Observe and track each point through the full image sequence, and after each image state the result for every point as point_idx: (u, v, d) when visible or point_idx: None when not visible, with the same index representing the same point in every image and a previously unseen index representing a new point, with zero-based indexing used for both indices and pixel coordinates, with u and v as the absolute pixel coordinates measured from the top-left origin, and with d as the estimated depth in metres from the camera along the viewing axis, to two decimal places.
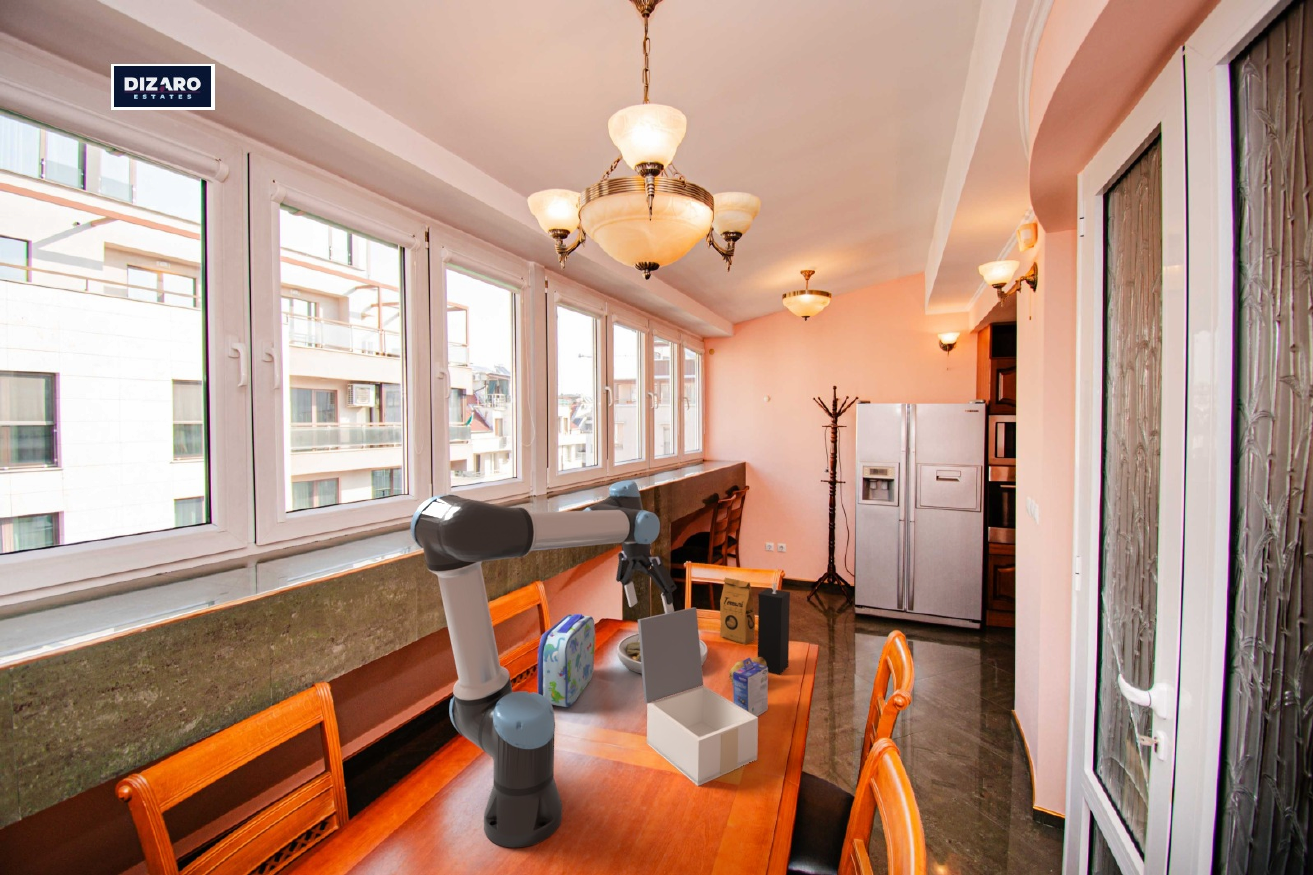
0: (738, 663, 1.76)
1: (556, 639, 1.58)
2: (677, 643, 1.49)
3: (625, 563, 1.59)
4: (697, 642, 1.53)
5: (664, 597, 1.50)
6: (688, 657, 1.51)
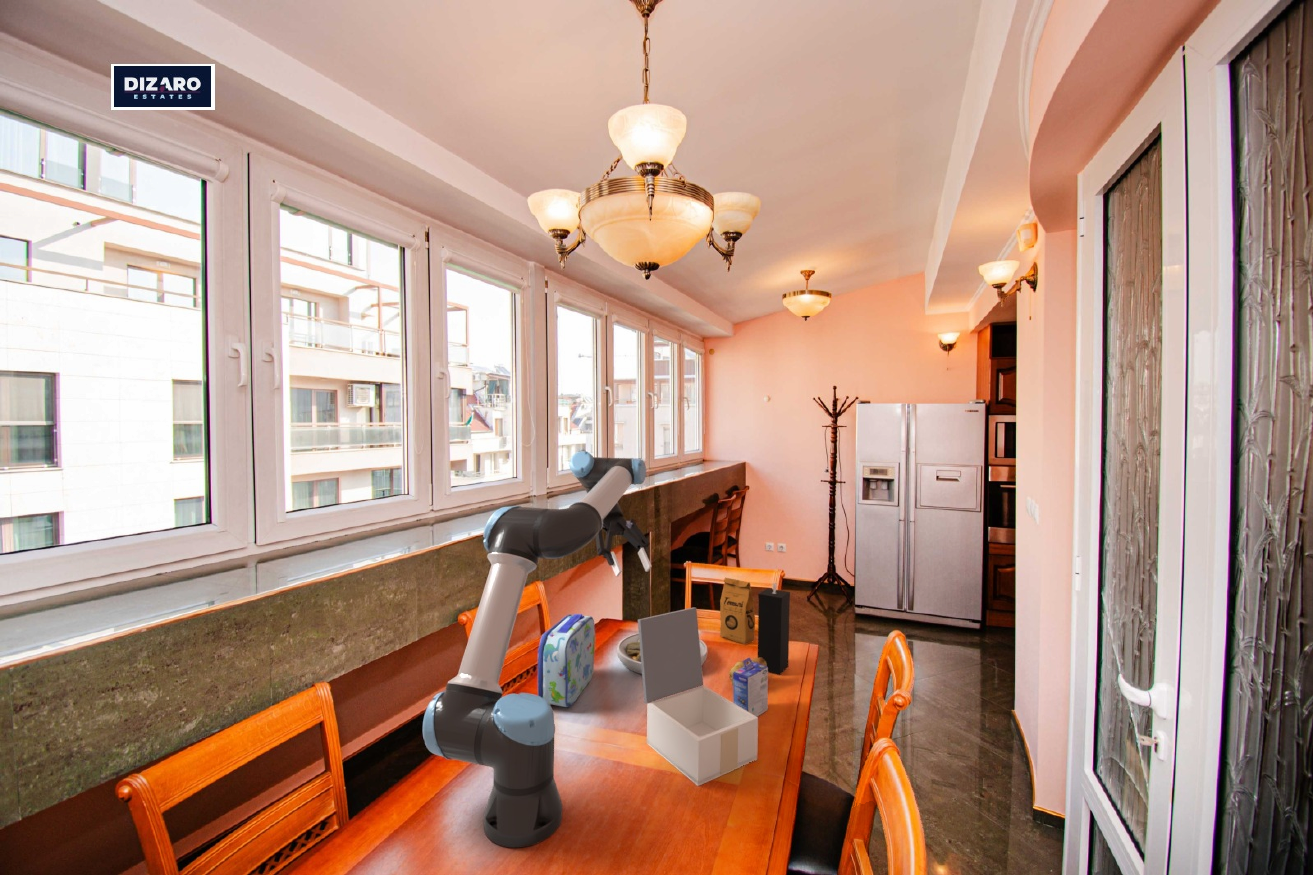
0: (738, 663, 1.76)
1: (556, 639, 1.58)
2: (677, 643, 1.49)
3: None
4: (697, 642, 1.53)
5: None
6: (688, 657, 1.51)
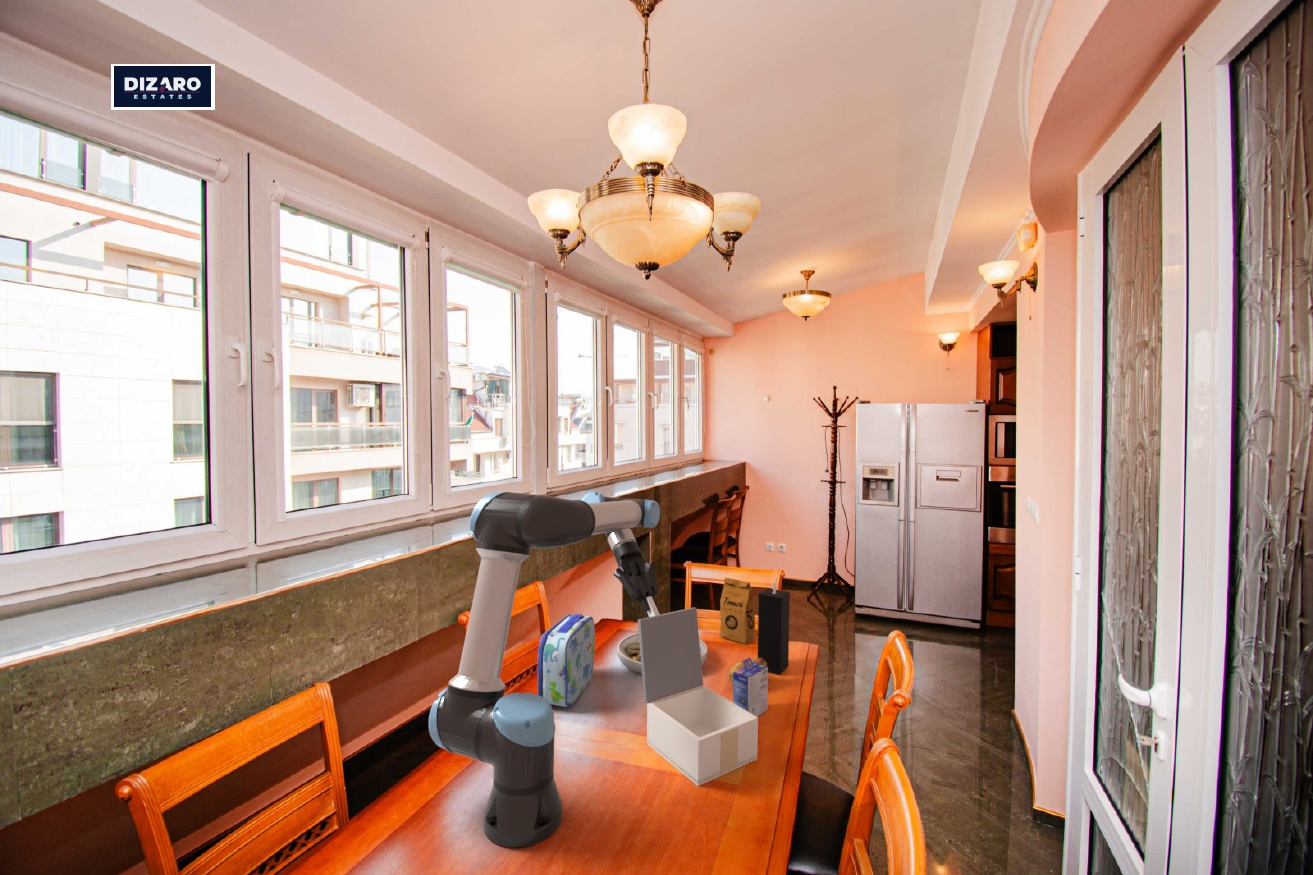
0: (738, 664, 1.76)
1: (556, 639, 1.58)
2: (677, 643, 1.49)
3: None
4: (697, 642, 1.53)
5: None
6: (688, 657, 1.51)
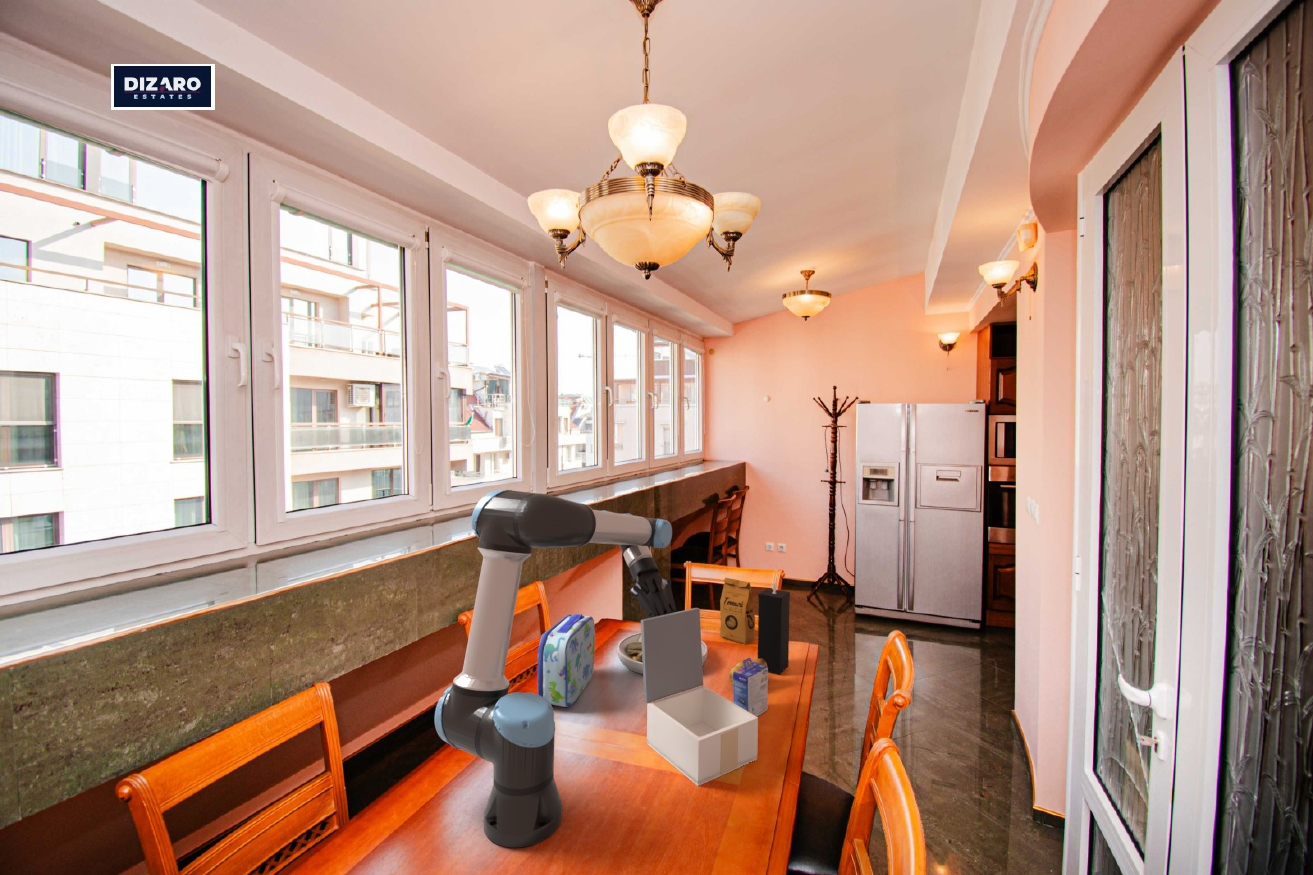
0: (738, 664, 1.75)
1: (556, 639, 1.58)
2: (679, 644, 1.49)
3: None
4: (699, 642, 1.52)
5: None
6: (689, 657, 1.50)
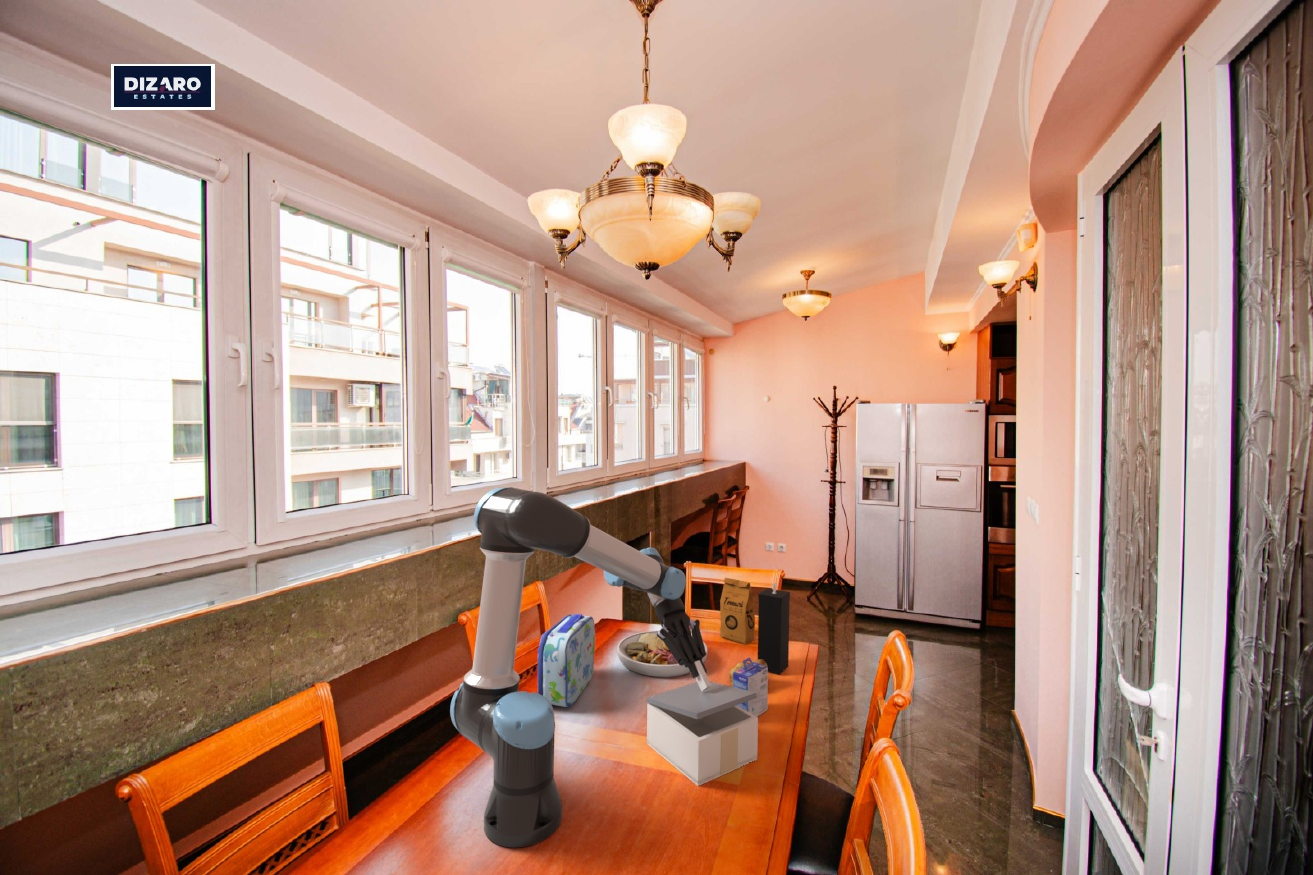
0: (739, 665, 1.75)
1: (556, 639, 1.58)
2: None
3: None
4: None
5: None
6: None
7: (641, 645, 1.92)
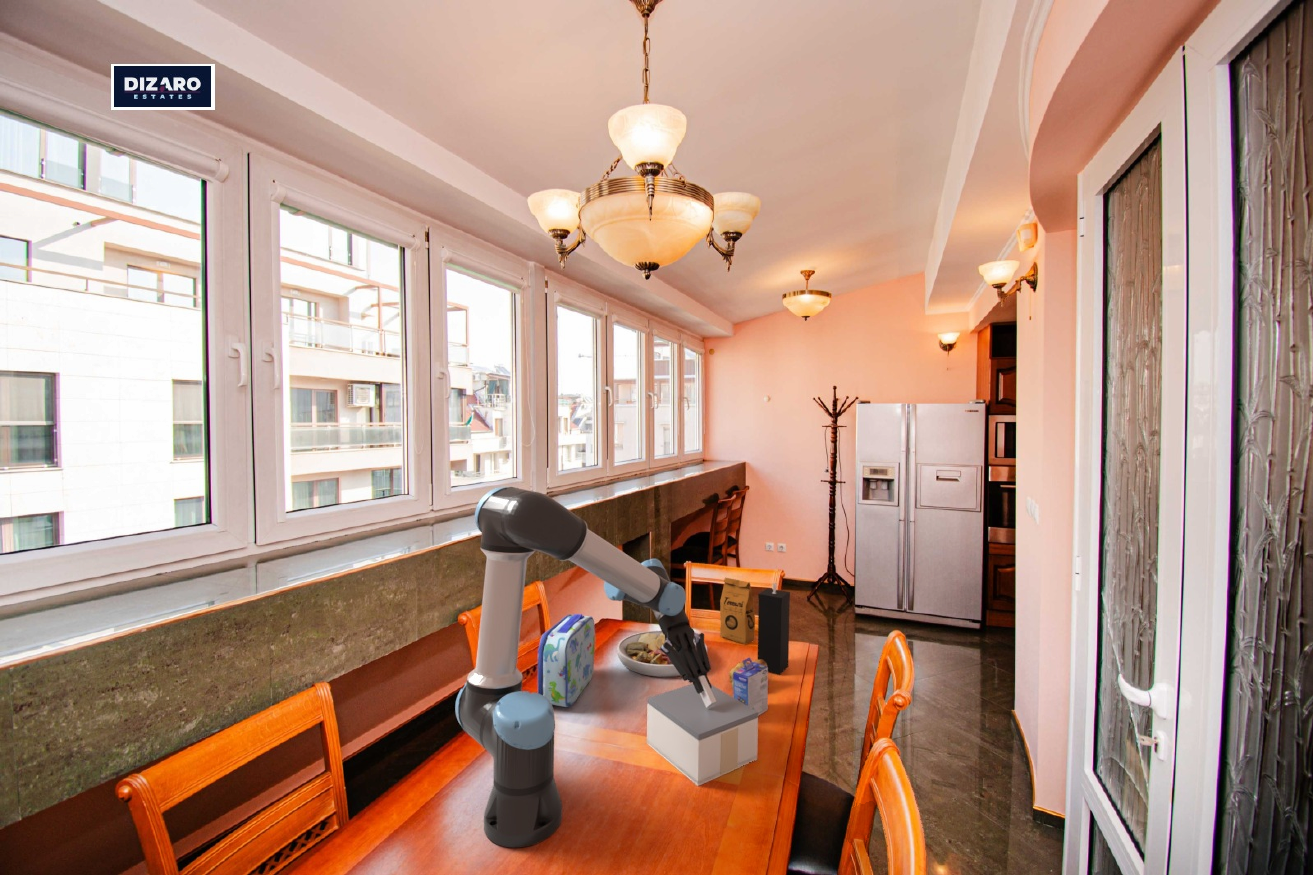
0: (739, 665, 1.75)
1: (556, 639, 1.58)
2: None
3: None
4: None
5: None
6: None
7: (641, 645, 1.92)
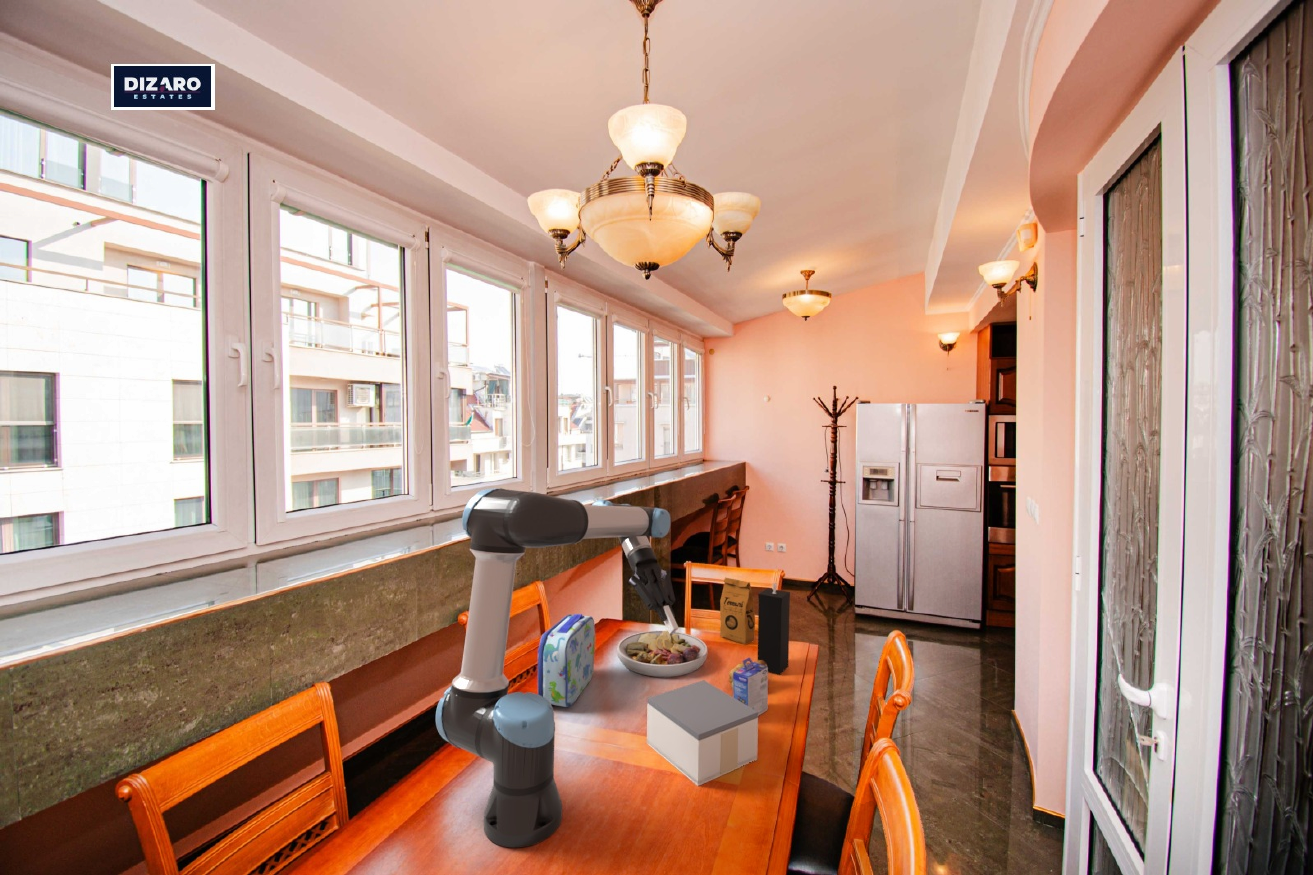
0: (739, 665, 1.74)
1: (556, 639, 1.58)
2: None
3: None
4: None
5: None
6: None
7: (641, 645, 1.92)
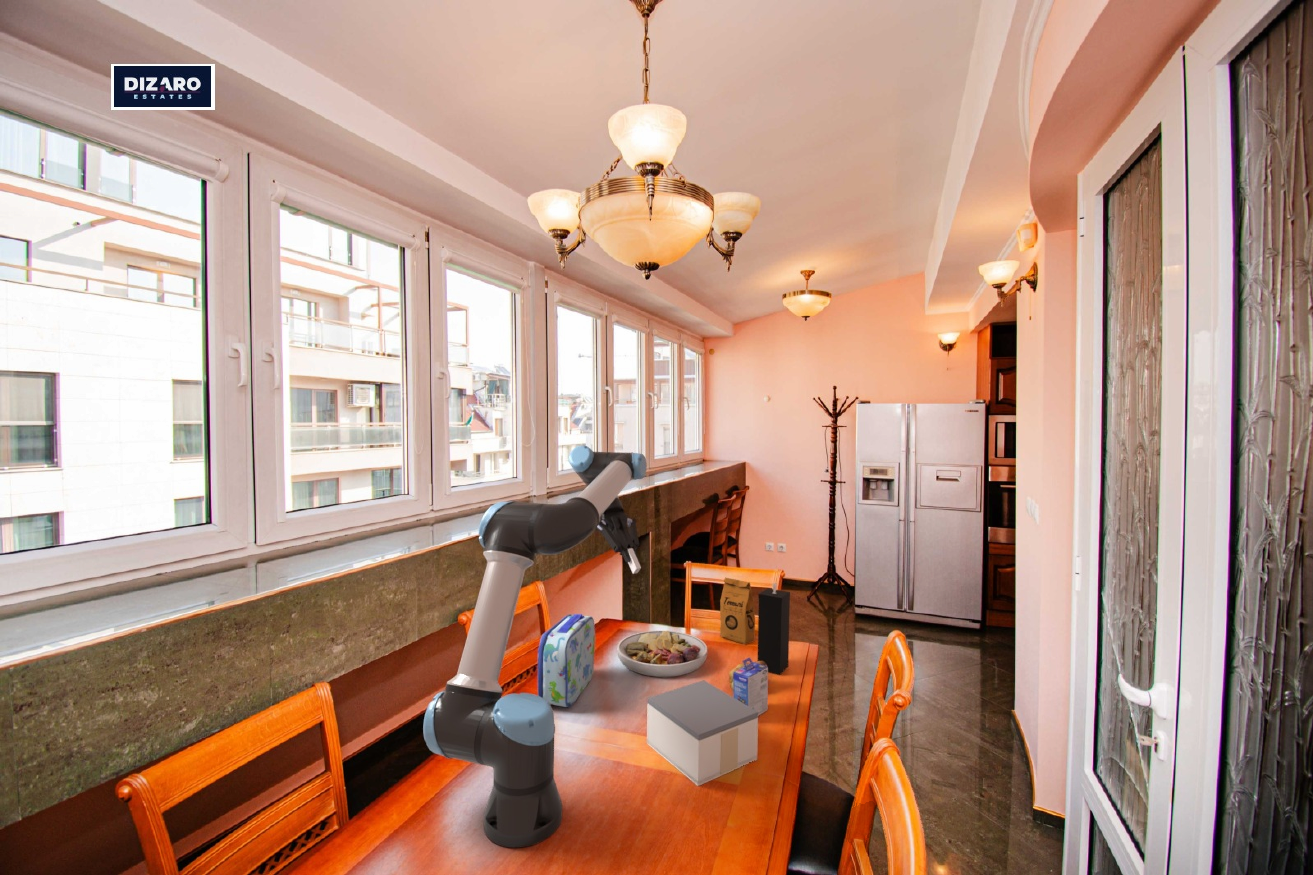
0: (739, 666, 1.74)
1: (556, 639, 1.58)
2: None
3: None
4: None
5: None
6: None
7: (641, 645, 1.92)
